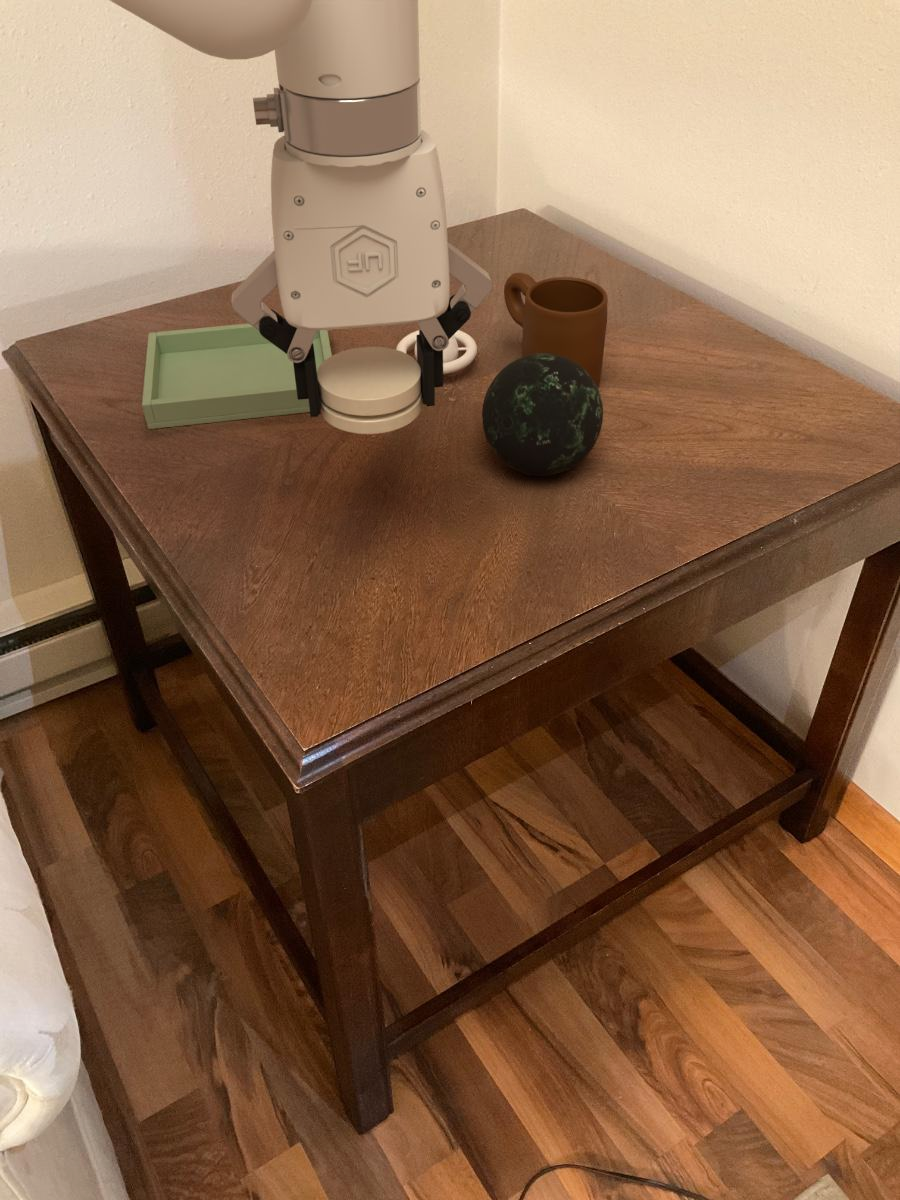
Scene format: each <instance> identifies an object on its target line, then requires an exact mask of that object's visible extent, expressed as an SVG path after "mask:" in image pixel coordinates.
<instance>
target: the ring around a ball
mask: <svg viewBox="0 0 900 1200" xmlns="http://www.w3.org/2000/svg"><path fill="white" fill-rule="evenodd" d="M419 330H420V329H419ZM419 330H415V331H412V332H410V333H409V334H407V335H405V336H404V337H403V338H402V339H401V340H400V341H399V342H398V343H397V346H396V349H395V350H399V351H401V352H404V353H406V354H408V353H407V352H408V350H409V348H410V347H412V346H413V345H414V357H415V360H416V361H417V335H419ZM458 343H460V344H462V345H464V346H463V347H459V345H458ZM459 351H461V352H462V351H465V353H464V354H463V355H462V356H460V357H459ZM477 354H478V345H477V342H476V340H475V339H474V338H473V337H472V336H471V335H469V334H468V333H467V332H464V331H462V330H460V329H459V330H458V331H457V332H456V333H455V334H454V335H453V336H452V337H451V338H450V339H449V344H448V346H447V348H445V349H444V350H443V375H449V374H452V373H456V372H459V371H461V370H463V369H465V368H466V367H468V366H469V365H470V364H472V363H473V362H474V360H475V359H476V357H477Z"/></svg>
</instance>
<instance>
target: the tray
mask: <svg viewBox="0 0 900 1200" xmlns="http://www.w3.org/2000/svg"><path fill="white" fill-rule="evenodd" d="M313 345H314V353H315V361H316V370H317V371H318V369H319V367H320V365H321V364H322V363H323V362H324V361H325V360H326V359H328V358H329V357H331V356H333V354H332V348H331V343H330V337H329V330H318V331H317V333H316V336H315V338H314V340H313ZM146 346H147V347H146V359H145V368H144V380H143V391H142V399H141V408H142V411H143V415H144V419H145V423H146V426H147V427H146V428H147V429H148V430H154V429H155V430H157V429H163V428H173V427H174V428H175V427H183V426H192V425H201V424H211V423H221V422H232V421H239V420H249V419H258V418H267V417H276V416H277V417H279V416H286V415H297V414H304V413H305V414H306V413H310V407H309V399H301V400H298V398H297V390H296V382H295V373H294V365H293V362H292V361H290V360H289V358H288V356H287V354H286V353H285V352H283V351H282V350H281V349H279V348H278V347H276V346H275V345H274V344H272V343H271V342H270V341H268V340H267V339H265V338H264V337H263V336H262V335H261V334H260V331H259V330H258V329H256V328H255V327H254V326H252V325H250V324H249V323H248V322H247V323H240V324H239V323H237V324H229V325H218V326H208V327H197V328H195V327H194V328H185V329H176V330H175V329H174V330H164V331H163V330H162V331H157V332H149V333H148V335H147V345H146Z"/></svg>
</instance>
